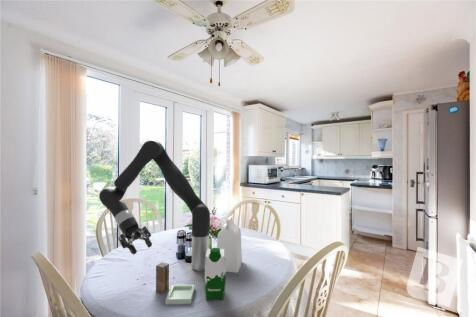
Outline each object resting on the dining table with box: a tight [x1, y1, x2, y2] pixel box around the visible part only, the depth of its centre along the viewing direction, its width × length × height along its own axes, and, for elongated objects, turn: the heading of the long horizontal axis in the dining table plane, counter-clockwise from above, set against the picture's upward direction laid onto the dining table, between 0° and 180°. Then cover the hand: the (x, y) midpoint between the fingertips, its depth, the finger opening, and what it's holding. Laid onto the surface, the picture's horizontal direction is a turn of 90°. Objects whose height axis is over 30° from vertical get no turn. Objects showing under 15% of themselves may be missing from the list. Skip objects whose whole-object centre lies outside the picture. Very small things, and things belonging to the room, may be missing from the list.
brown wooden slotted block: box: [155, 261, 170, 295], centre depth 95 cm, size 4×4×11 cm
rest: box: [165, 284, 196, 305], centre depth 91 cm, size 10×10×2 cm
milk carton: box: [204, 247, 227, 301], centre depth 92 cm, size 9×9×20 cm
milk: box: [216, 216, 243, 274], centre depth 117 cm, size 12×12×26 cm
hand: (143, 249), depth 100 cm, fingers open, 8 cm apart
